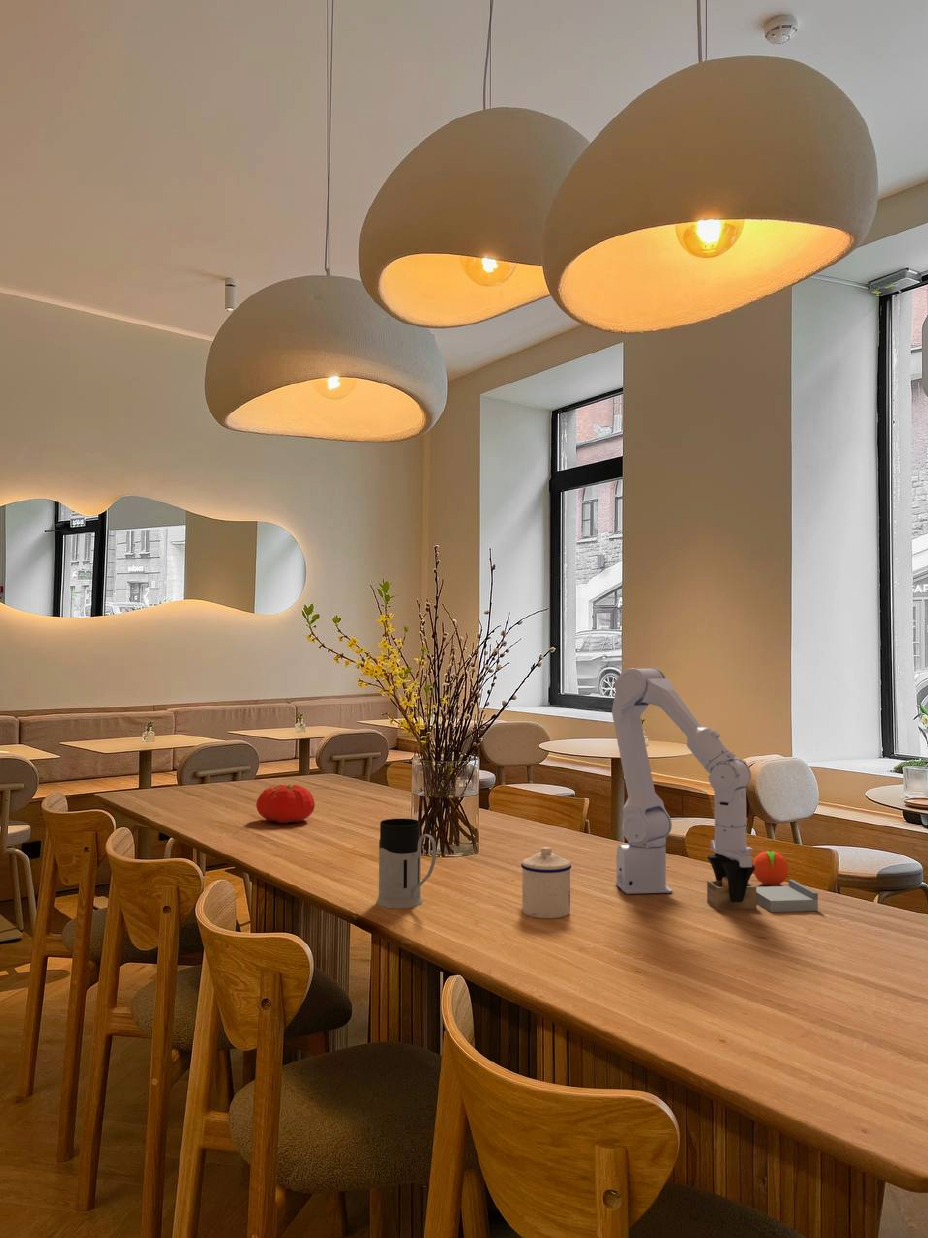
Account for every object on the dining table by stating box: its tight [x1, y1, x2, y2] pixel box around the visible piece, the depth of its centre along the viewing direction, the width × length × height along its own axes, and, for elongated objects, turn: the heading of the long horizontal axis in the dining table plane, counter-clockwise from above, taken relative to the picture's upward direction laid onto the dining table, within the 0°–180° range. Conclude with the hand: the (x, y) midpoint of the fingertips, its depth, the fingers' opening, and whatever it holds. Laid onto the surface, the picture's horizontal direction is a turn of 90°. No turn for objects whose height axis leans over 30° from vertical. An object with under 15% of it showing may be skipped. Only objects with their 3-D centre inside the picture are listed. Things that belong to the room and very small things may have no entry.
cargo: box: [722, 877, 729, 887], centre depth 171 cm, size 3×3×2 cm
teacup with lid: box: [520, 846, 572, 920], centre depth 167 cm, size 12×9×12 cm
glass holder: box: [375, 818, 437, 910], centre depth 171 cm, size 9×14×15 cm, turn 44°
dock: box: [756, 879, 819, 913], centre depth 172 cm, size 9×10×3 cm
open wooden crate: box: [706, 880, 757, 911], centre depth 171 cm, size 8×5×4 cm, turn 96°
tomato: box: [255, 784, 316, 824], centre depth 254 cm, size 14×16×10 cm
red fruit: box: [752, 849, 789, 886], centre depth 185 cm, size 8×7×7 cm
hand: (730, 897), depth 171 cm, fingers closed on open wooden crate, 5 cm apart
